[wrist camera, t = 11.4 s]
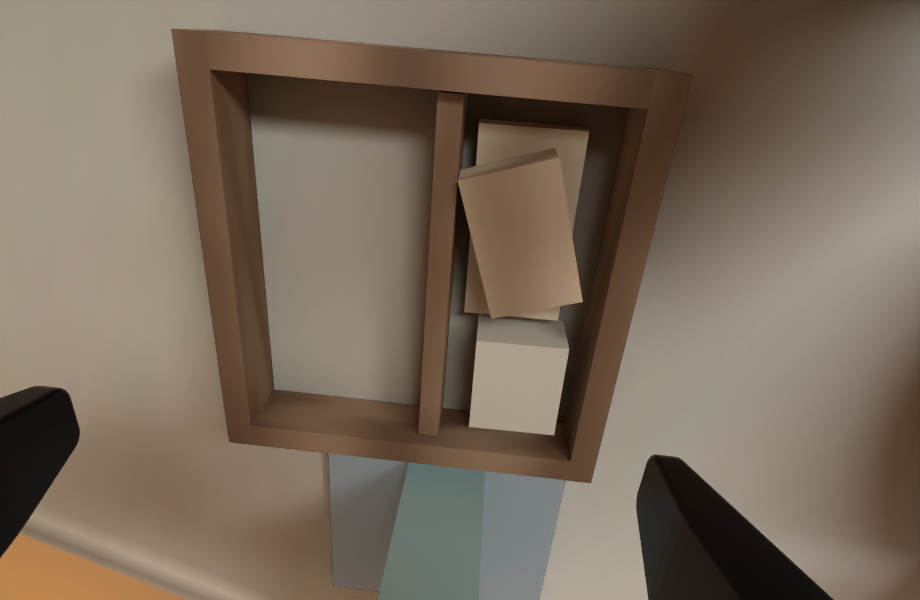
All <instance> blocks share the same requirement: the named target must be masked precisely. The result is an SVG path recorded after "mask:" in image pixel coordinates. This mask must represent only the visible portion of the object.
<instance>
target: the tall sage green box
mask: <svg viewBox="0 0 920 600" xmlns="http://www.w3.org/2000/svg"><path fill="white" fill-rule="evenodd" d="M484 480H485V471H480V470H471V469H462V468H453V467H444V466H436V465H427V464H418V463H408V467H407V472H406V476H405V481H404V485H403V489H402V494H401V498H400V503H399V507H398V512H397V516H396V520H395V525H394V529H393V534H392V538H391V543H390V547H389V551H388V556H387V560H386V565H385V569H384V573H383V578H382V582H381V587H380V591H379V596H378V600H479V589H480V568H481V546H482V524H483V502H484Z"/></svg>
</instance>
